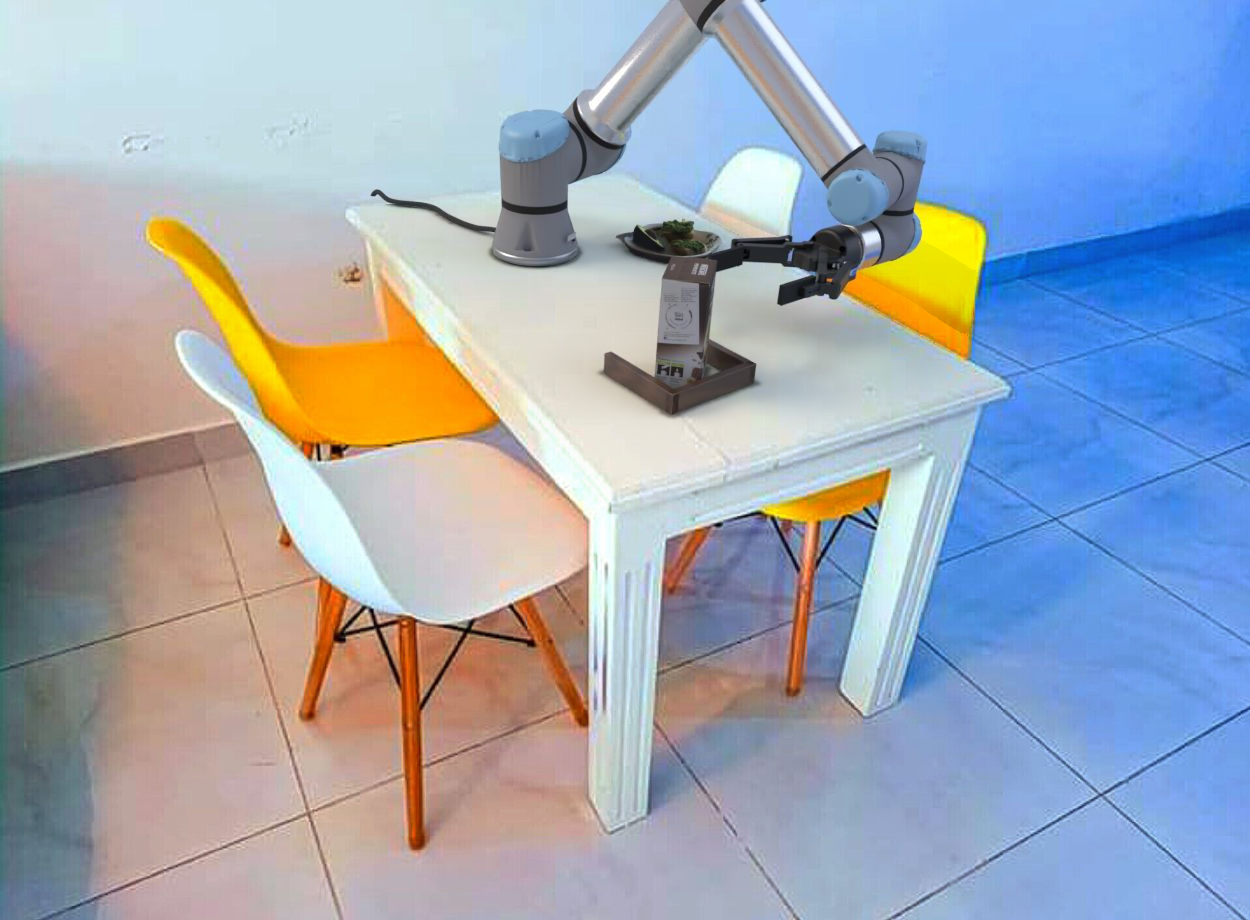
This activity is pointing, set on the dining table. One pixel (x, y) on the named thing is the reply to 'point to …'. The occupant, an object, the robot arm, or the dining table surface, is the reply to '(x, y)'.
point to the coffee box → (684, 320)
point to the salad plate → (670, 241)
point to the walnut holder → (675, 400)
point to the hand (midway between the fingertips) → (743, 279)
